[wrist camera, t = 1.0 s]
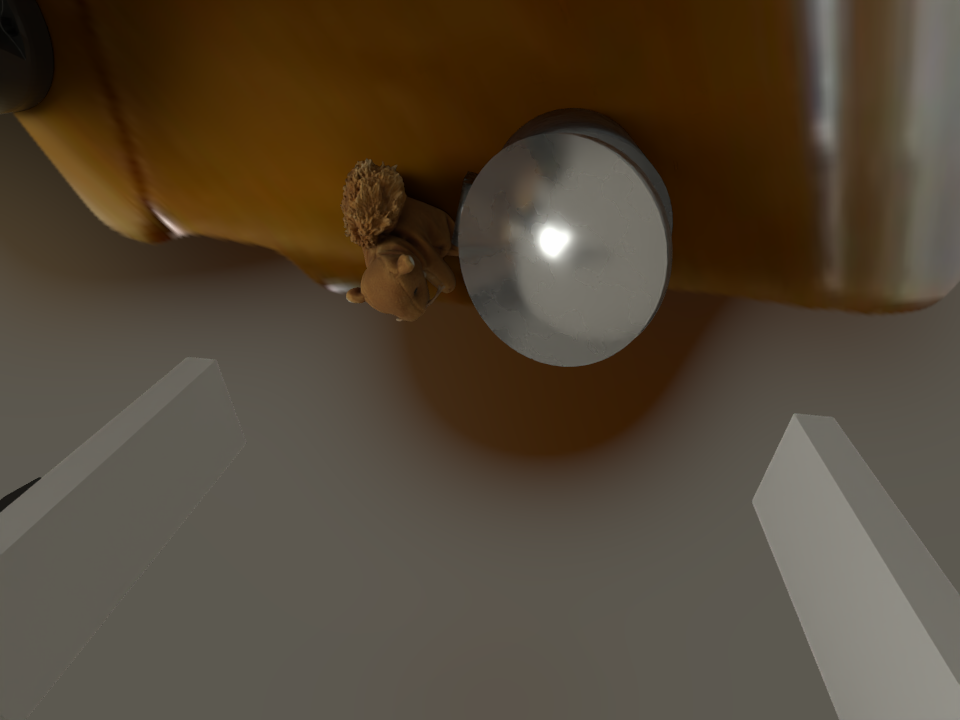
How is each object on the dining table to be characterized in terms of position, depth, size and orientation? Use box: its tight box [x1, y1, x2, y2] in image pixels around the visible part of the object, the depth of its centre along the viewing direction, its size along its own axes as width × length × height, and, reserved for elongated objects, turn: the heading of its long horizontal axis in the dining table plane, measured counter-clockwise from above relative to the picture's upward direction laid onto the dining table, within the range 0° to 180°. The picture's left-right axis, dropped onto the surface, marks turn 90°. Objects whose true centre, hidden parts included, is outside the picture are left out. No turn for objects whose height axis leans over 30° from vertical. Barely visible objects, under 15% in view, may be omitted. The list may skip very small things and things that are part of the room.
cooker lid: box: [452, 133, 672, 367], centre depth 31 cm, size 15×15×1 cm
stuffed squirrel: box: [340, 158, 459, 321], centre depth 42 cm, size 10×14×13 cm
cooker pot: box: [464, 108, 673, 236], centre depth 39 cm, size 15×14×12 cm
